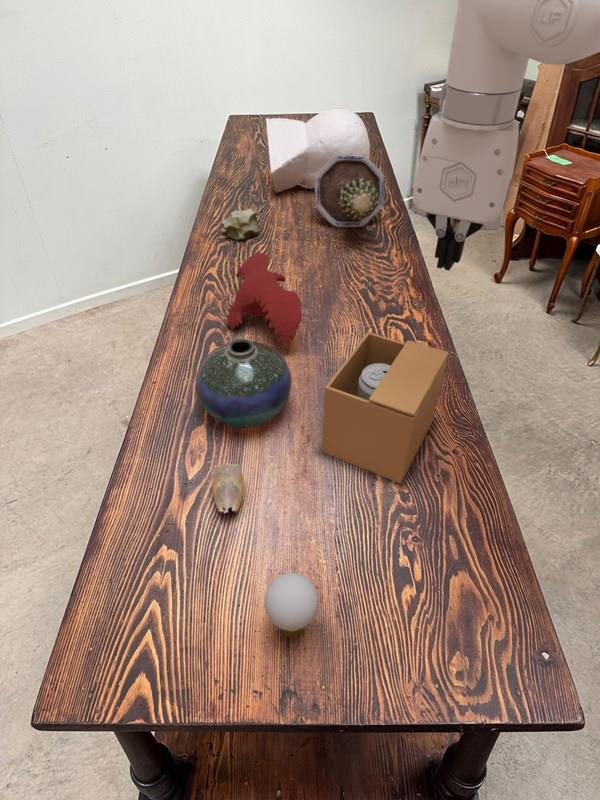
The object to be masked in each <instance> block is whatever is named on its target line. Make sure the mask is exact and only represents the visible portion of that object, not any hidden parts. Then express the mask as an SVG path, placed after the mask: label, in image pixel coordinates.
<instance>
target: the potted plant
mask: <svg viewBox="0 0 600 800" xmlns="http://www.w3.org/2000/svg"><path fill="white" fill-rule="evenodd" d="M314 195H315V197H314V205H315V208H316V210H317V211H318V212H319V214H320V215H321V216H323V218H324V219H325V220H326V221H327V222H328V223H329V224H330V225H331V226H333V227H334V228H346V229H347V228H360V227H362V228H363V227H365V226H366V225H367V224H368V223H369V222H370V221H371V219H372V218H373V217H374V216H376V215H377V214H378V213H379V211H380V210H382V208H383V207H384V200H385V199H384V198H385V176H384V174H383V172H382V170H380V169H379V168H378V167H377V165H375V164H374V163H373V162H372V161H371V160H370V158H369V159H367V158H366V157H365V156H363V155H345V154H344V155H336V156H334V157H333V158H332V159H331V160H330V161H329V162H328V163H327V164H326V165H325V166H324V167H323V168H322V169H321V170H320V171H319V172H318V174H317V175H316V176H315V189H314Z"/></svg>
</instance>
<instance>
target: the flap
mask: <svg viewBox="0 0 600 800" xmlns="http://www.w3.org/2000/svg"><path fill="white" fill-rule="evenodd" d="M405 343H406V344H405V345H404V347H403V348H402V350H401V351H400V353H399V354H398V356H397V357H396V359H395V360H394V362H393V363H392V365H391V366H390V368H389V369H388V371H387V372H386V374H385V375H384V377H383V378H382V380H381V382H380V383H379V385H378V386H377V388H376V389H375V391H374V392H373V394H372V395H371V397H370V398H369V401H370V402H373V403H376V404H379V405H382V406H385V407H388V408H391V409H394V410H397V411H400V412H403V413H405V414H408V415H411V416H414V415H415V413H416V411H417V410H418V408H419V406H420V404H421V402H422V401H423V399H424V397H425V395H426V393H427V392H428V390H429V388H430V386H431V384H432V383H433V381H434V379H435V377H436V375H437V374H438V372H439V370H440V368H441V366H442V365H443V363H444V361H445V359H446V357H447V356H448V355H449V351H446V350H444V349H443V350H442V349H440V348H436V347H432V346H429V345H426V344H422V343H419V342H415V341H412V340H406V342H405Z"/></svg>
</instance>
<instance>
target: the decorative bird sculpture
mask: <svg viewBox="0 0 600 800" xmlns="http://www.w3.org/2000/svg"><path fill="white" fill-rule="evenodd" d="M268 261H269V257H268V255H267V254H265V253H264V252H259V253H255V254H253V255H251V256H249V257H248V258H246V260H245V261H244V262H243V263H242V264H241V266H240V267H239V268H238V270H237V271H236V273H235V276H236V278H238V277H239V278H241V281H242V282H241V284H240V285H239V287H238V290H237V293H236V296H235V299H234V302H233V304H229V308H228V309H227V312H228V314H227V315H226V317H227V321H226V322H227V328H228V329H229V328H230V329H231V330H234V329H235V328H236V327H239V325H240V324H242V323H243V322H242V317H243V316H244V315H245V314H249V315H250V316H255V317H260V318H265V319H266V320H269V324H268V328H270V329H273V328H274V335H279V336H280V337H278V342H279V343H283V344H285V345H287V346H288V345H290V343H291V342H292V341H293V339H294V337H295V336H296V335H297V332H298V329H299V327H300V324H301V322H302V318H303V312H302V304H301V300H300V298H299V296H298V294H297V292H295V291H291V290H287V289H284V288H283V287H282V286H281V285H280V284H279V282H283V283H285V282H286V278H285V276H284V275H282V273H277V272H272V271H270V270H269V269H268Z"/></svg>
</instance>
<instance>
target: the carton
mask: <svg viewBox="0 0 600 800" xmlns="http://www.w3.org/2000/svg"><path fill="white" fill-rule="evenodd" d="M405 344H406V342H403V341H399V340H397V339H393V338H390V337H386V336H383V335H380V334H378V333H377V334H376V333H373V332H370V331H366V333H365V334H364V336H362V338H361V340H360V341H359V342H358V344H357V345H356V346H355V347H354V349H353V350H352V351H351V352H350V354H349V355H348V356H347V358H346V359H345V360H344V361H343V363H342V364H341V366H340V367H339V368H338V369H337V371H336V372H335V373H334V375H333V376H332V377H331V379H330V380H329V381H328V383H326V385H325V386H324V391H323V392H324V393H323V394H324V395H323V396H324V397H323V415H322V416H323V420H322V440H321V441H322V443H321V453H323V454H325V455H328V456H331V457H333V458H335V459H338V460H340V461H343V462H346V463H348V464H351V465H353V466H356V467H358V468H360V469H363V470H366V471H367V472H371V473H373V474H375V475H378V476H380V477H383V478H385V479H388V480H390V481H392V482H395V483H398V484H402V482H403V480H404V478H405V476H406V474H407V472H408V470H409V468H410V467H411V464H412V462H413V461H414V459H415V457H416V455H417V452H418V451H419V449H420V447H421V446H422V443H423V441H424V439H425V437H426V435H427V433H428V432H429V429H430V427H431V425H432V424H433V421H434V418H435V415H436V411H437V410H436V409H437V405H438V402H439V398H440V393H441V389H442V384H443V380H444V376H445V372H446V368H447V363H448V360H449V356H448V355H447V357H446V359H445V361H444V363H443V365H442V366H441V368H440V370H439V372H438V374H437V375H436V377H435V379H434V381H433V383H432V384H431V386H430V388H429V390H428V392H427V393H426V395H425V397H424V399H423V401H422V402H421V404H420V406H419V408H418V410H417V411H416V413H415V415H414V416H411V415H408V414H405V413H403V412H400V411H397V410H394V409H391V408H388V407H385V406H382V405H379V404H376V403H373V402H370V401H369V400H366V399H363V398H360V397H357V393H358V382H359V377H360V376H361V374H362V371H363V370H364V369H365V368H366V367H367V366H369V365H372V364H377V363H382V364H387V365H390V366H391V365H392V363H393V362H394V360H395V359H396V357H397V356H398V354H399V353H400V351H401V350H402V348H403V347H404V345H405Z"/></svg>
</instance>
